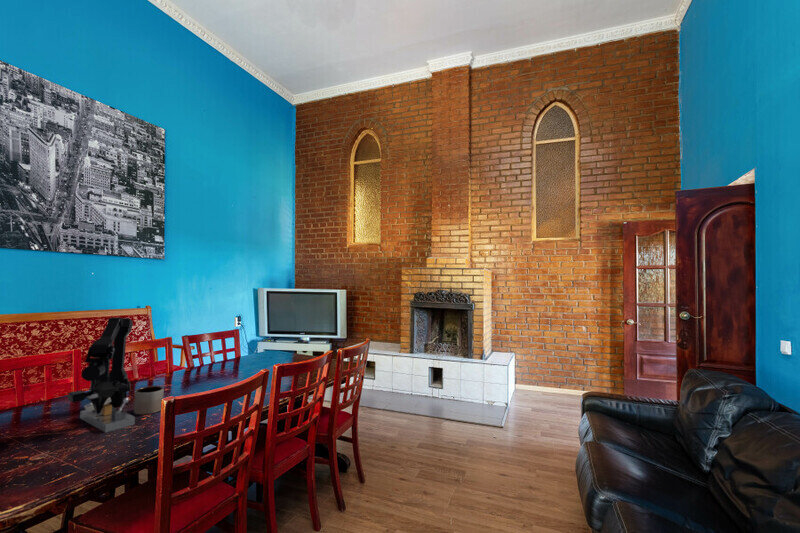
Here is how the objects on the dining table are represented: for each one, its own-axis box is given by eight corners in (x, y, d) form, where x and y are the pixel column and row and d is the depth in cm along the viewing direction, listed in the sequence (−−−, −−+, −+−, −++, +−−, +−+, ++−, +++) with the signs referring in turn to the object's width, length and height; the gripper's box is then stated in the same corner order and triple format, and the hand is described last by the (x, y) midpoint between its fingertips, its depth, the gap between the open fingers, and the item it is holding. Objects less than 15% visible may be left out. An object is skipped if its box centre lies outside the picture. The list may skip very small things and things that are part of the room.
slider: (108, 412, 159) (108, 403, 159) (111, 413, 157) (112, 405, 158) (101, 413, 157) (101, 405, 157) (104, 415, 155) (105, 406, 156)
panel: (108, 411, 168) (108, 399, 168) (134, 424, 155) (135, 410, 155) (80, 418, 160) (80, 405, 160) (105, 432, 147) (106, 418, 147)
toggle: (117, 416, 154) (128, 398, 157) (119, 417, 153) (130, 398, 156) (112, 415, 153) (123, 396, 156) (114, 416, 151) (126, 397, 155)
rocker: (107, 399, 166) (106, 395, 166) (111, 401, 164) (110, 397, 164) (85, 409, 160) (84, 405, 159) (89, 411, 158) (88, 407, 157)
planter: (168, 407, 176) (169, 386, 176) (150, 416, 165) (152, 393, 165) (146, 406, 177) (147, 385, 177) (127, 414, 166) (128, 392, 166)
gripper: (79, 383, 143) (77, 425, 143) (135, 373, 159) (133, 411, 158) (68, 377, 149) (65, 418, 149) (123, 369, 165) (121, 405, 164)
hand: (98, 413), depth 155 cm, fingers closed
